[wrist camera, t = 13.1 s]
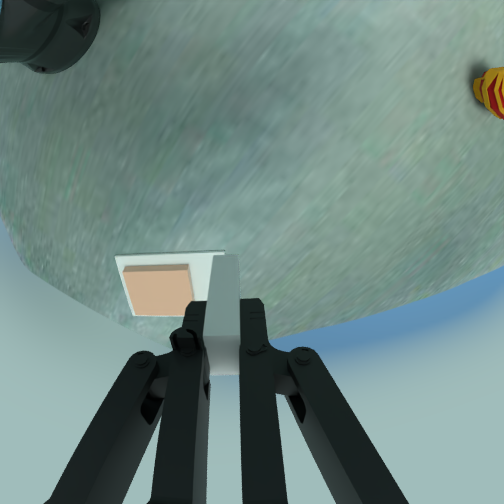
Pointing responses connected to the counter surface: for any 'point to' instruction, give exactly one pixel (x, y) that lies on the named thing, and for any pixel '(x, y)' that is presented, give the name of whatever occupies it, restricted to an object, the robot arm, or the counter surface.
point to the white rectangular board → (196, 260)
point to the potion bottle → (491, 91)
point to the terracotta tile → (159, 289)
